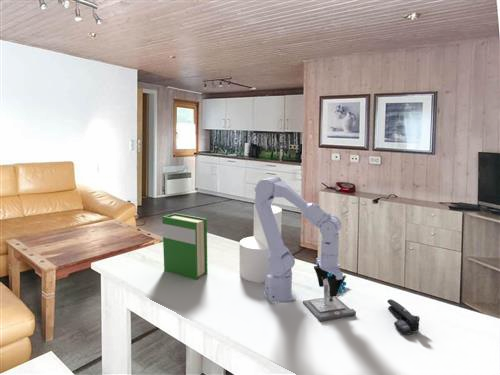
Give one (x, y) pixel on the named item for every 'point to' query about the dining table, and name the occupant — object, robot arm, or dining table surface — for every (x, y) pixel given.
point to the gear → (341, 284)
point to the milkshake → (327, 294)
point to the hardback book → (185, 245)
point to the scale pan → (324, 308)
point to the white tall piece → (257, 250)
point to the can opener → (403, 318)
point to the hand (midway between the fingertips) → (327, 291)
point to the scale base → (330, 315)
